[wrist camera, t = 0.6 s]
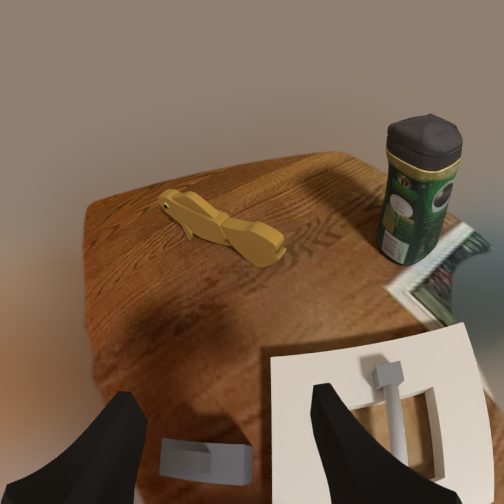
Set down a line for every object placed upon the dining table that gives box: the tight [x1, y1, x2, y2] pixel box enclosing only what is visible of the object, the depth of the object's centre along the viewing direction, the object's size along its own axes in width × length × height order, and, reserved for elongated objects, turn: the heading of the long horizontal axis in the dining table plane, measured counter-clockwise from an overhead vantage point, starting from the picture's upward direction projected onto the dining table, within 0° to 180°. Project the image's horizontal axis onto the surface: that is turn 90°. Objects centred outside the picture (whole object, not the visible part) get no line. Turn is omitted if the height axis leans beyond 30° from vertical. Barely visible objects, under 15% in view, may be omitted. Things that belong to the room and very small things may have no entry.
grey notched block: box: [159, 438, 253, 485], centre depth 19 cm, size 4×8×6 cm, turn 90°
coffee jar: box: [376, 114, 462, 266], centre depth 29 cm, size 10×8×19 cm
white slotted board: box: [271, 322, 494, 504], centre depth 17 cm, size 22×22×4 cm
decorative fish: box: [158, 189, 286, 268], centre depth 40 cm, size 22×3×10 cm, turn 54°
